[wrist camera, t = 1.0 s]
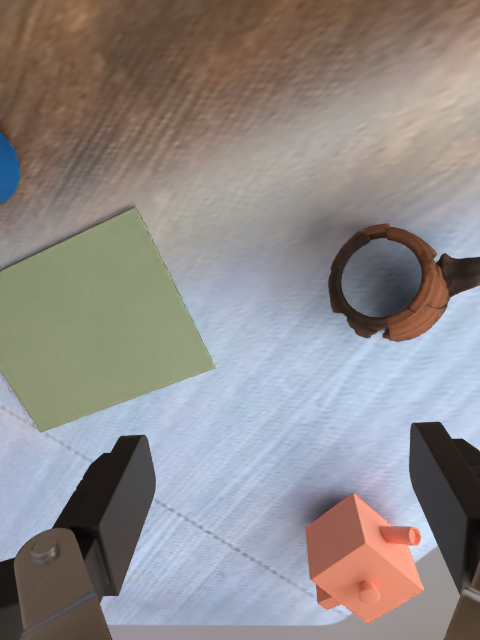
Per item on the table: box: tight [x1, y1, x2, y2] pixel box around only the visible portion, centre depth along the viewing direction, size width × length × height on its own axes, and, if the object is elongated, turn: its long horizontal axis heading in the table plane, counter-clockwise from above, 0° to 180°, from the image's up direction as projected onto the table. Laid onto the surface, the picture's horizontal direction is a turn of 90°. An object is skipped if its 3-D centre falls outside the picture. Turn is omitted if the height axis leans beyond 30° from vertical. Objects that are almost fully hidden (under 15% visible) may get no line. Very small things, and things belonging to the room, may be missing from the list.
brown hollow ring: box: [328, 224, 480, 342], centre depth 33 cm, size 12×10×8 cm
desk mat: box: [0, 207, 215, 432], centre depth 39 cm, size 16×20×1 cm
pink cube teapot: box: [305, 493, 424, 624], centre depth 41 cm, size 8×12×8 cm, turn 137°
